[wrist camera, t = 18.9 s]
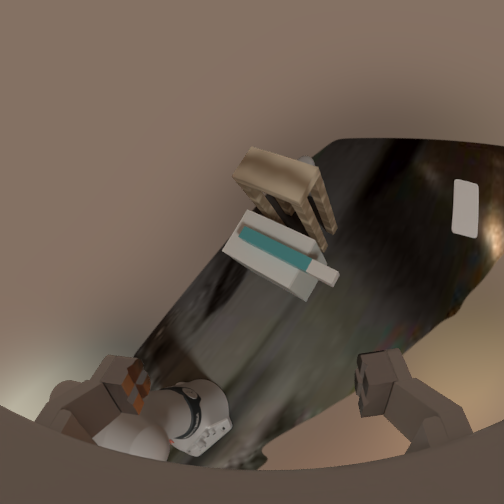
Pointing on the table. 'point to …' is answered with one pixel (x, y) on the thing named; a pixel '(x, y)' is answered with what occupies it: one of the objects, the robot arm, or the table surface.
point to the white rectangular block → (269, 264)
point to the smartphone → (465, 208)
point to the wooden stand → (286, 190)
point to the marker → (290, 256)
